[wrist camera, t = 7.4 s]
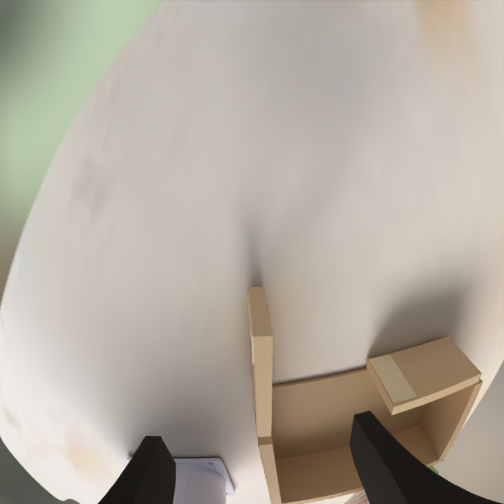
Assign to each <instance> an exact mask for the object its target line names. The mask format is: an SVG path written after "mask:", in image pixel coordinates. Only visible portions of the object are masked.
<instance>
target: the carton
mask: <svg viewBox="0 0 504 504" xmlns="http://www.w3.org/2000/svg"><path fill="white" fill-rule="evenodd" d="M482 383H483V382H482V380H481V379H479V381H478V382H477V383H475V384H472V385H470V386H468V387H466V388H463V389H461V390H459V391H457V392H454V393H452V394H449V395H447V396H444V397H442V398H439V399H437V400H434V401H432V402H429V403H426V404H424V405H421V406H418V407H415V408H412V409H409V410H406V411H403V412H400V413H397V414H394V415H391V413H390V411H389V409H388V407H387V406H386V404H385V402H384V400H383V398H382V396H381V394H380V392H379V390H378V388H377V387H376V385H375V383H374V381H373V379H372V377H371V375H370V373H369V372H368V370H367V368H362V369H358V370H353V371H349V372H344V373H340V374H335V375H330V376H325V377H320V378H314V379H309V380H303V381H297V382H291V383H284V384H278V385H272V422H271V436H265V437H258V446H259V450H260V455H261V459H262V464H263V468H264V473H265V477H266V482H267V486H268V490H269V495H270V499H271V503H272V504H304V503H310V502H315V501H320V500H325V499H330V498H334V497H339V496H343V495H347V494H351V493H355V492H358V491H362V490H364V488H363V486H362V483H361V481H360V478H359V476H358V473H357V470H356V468H355V465H354V461H353V457H352V453H351V449H350V445H349V442H350V437H351V431H352V425H353V418H354V414H358V413H362V412H366V411H371V412H372V413H373V414H374V415H375V417H376V418H377V419H378V420H379V421H380V422H381V424H382V425H383V426H384V427H385V428H386V429H387V430H388V431H389V432H390V433H391V434H392V435H393V437H394V438H395V439H396V440H397V441H398V442H400V443H401V444H402V445H403V446H404V447H405V448H406V449H407V450H408V451H409V452H410V453H411V454H412V455H414V456H415V457H416V458H417V459H418V460H419V461H421V462H422V463H423V464H424V465H426V466H427V467H430V466H433V465H435V464H437V463H439V462H442V461H443V460H444V458H445V457H446V455H447V454H448V452H449V450H450V448H451V447H452V445H453V443H454V441H455V440H456V438H457V436H458V434H459V432H460V430H461V428H462V426H463V424H464V422H465V420H466V418H467V416H468V414H469V412H470V410H471V408H472V406H473V404H474V401H475V399H476V397H477V395H478V392H479V390H480V388H481V385H482Z"/></svg>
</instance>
